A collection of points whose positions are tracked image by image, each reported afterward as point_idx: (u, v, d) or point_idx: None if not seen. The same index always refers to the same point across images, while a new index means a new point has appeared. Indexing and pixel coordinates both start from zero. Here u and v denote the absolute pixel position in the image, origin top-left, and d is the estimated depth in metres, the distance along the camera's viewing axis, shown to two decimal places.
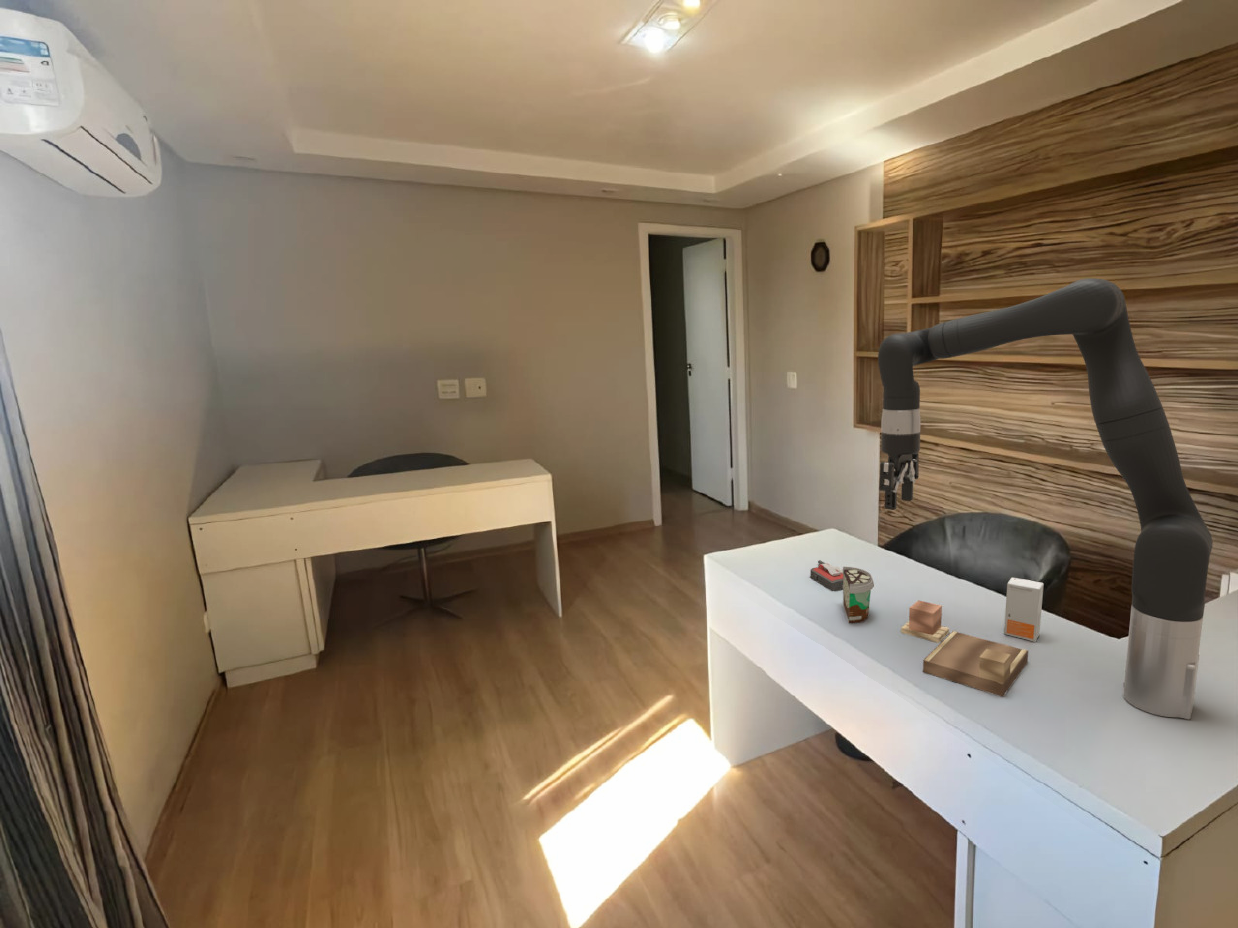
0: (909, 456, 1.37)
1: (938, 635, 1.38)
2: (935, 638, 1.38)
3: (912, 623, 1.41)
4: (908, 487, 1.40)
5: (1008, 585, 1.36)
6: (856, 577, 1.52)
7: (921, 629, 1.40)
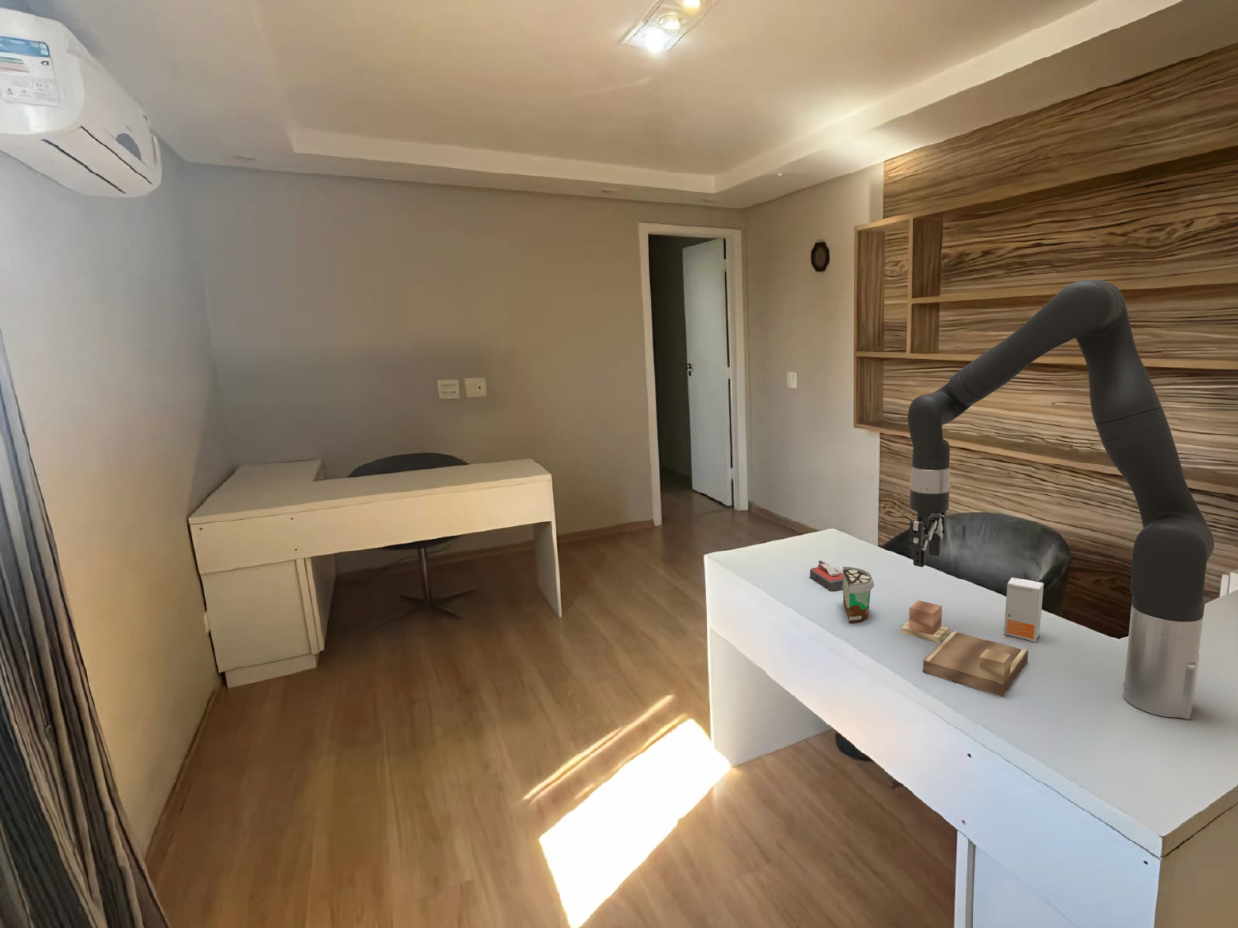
0: (937, 513, 1.38)
1: (938, 635, 1.38)
2: (935, 638, 1.38)
3: (912, 623, 1.41)
4: (936, 542, 1.41)
5: (1008, 585, 1.36)
6: (856, 577, 1.52)
7: (921, 629, 1.40)
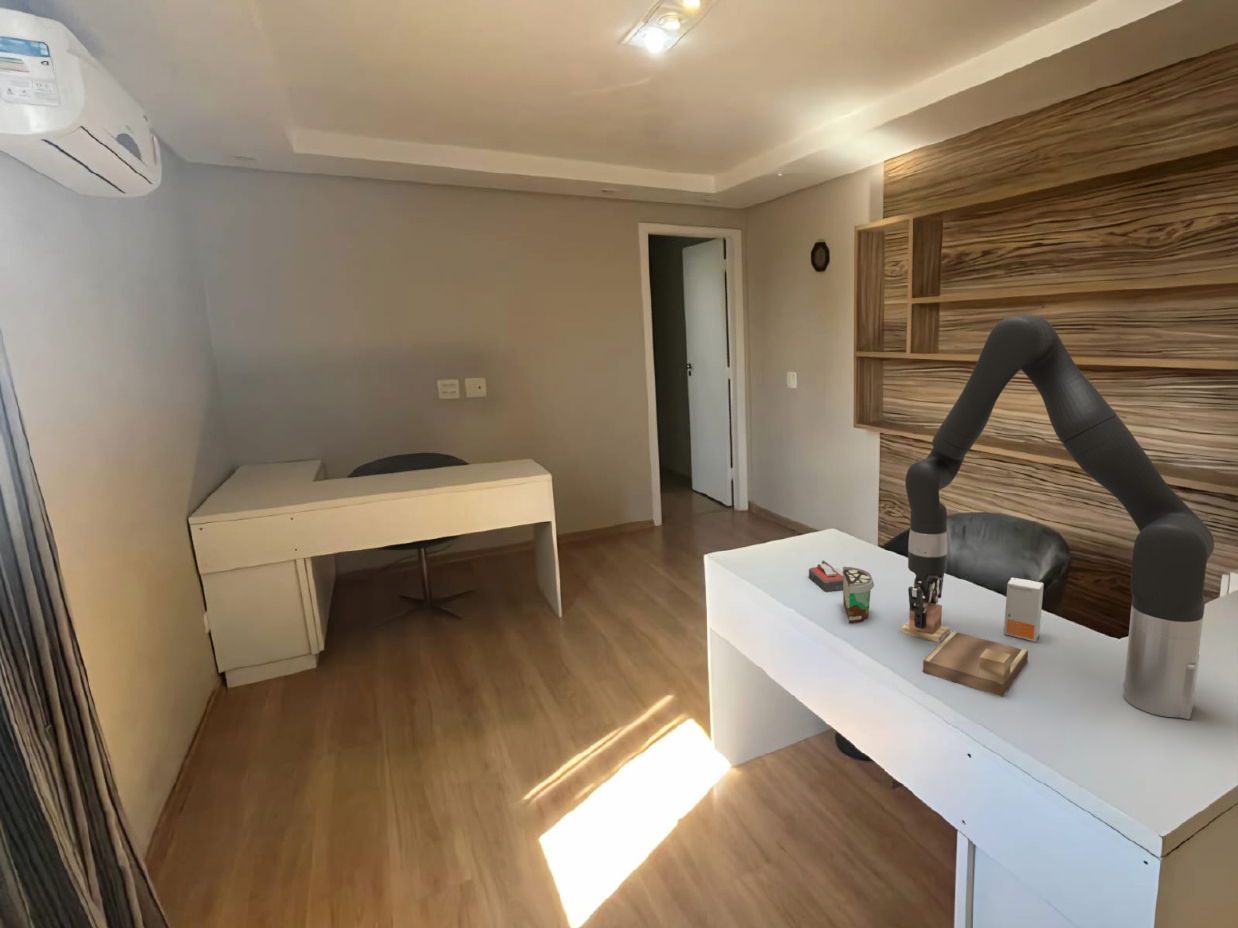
0: None
1: (938, 635, 1.38)
2: (935, 638, 1.38)
3: (912, 623, 1.41)
4: None
5: (1008, 585, 1.36)
6: (856, 577, 1.52)
7: (921, 629, 1.40)
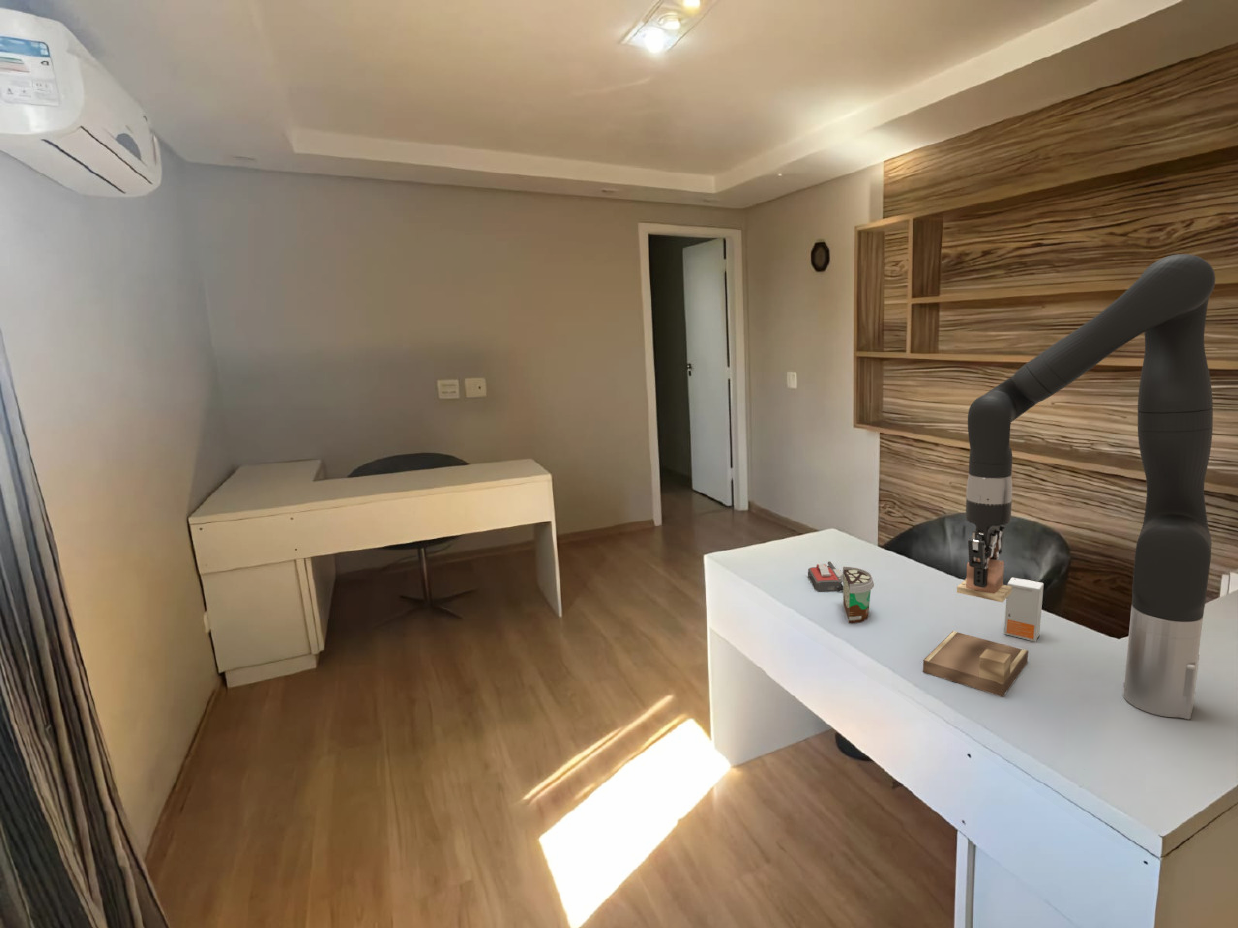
0: None
1: (1000, 594, 1.22)
2: (997, 597, 1.22)
3: (970, 581, 1.25)
4: None
5: (1008, 585, 1.36)
6: (856, 577, 1.52)
7: (981, 587, 1.24)
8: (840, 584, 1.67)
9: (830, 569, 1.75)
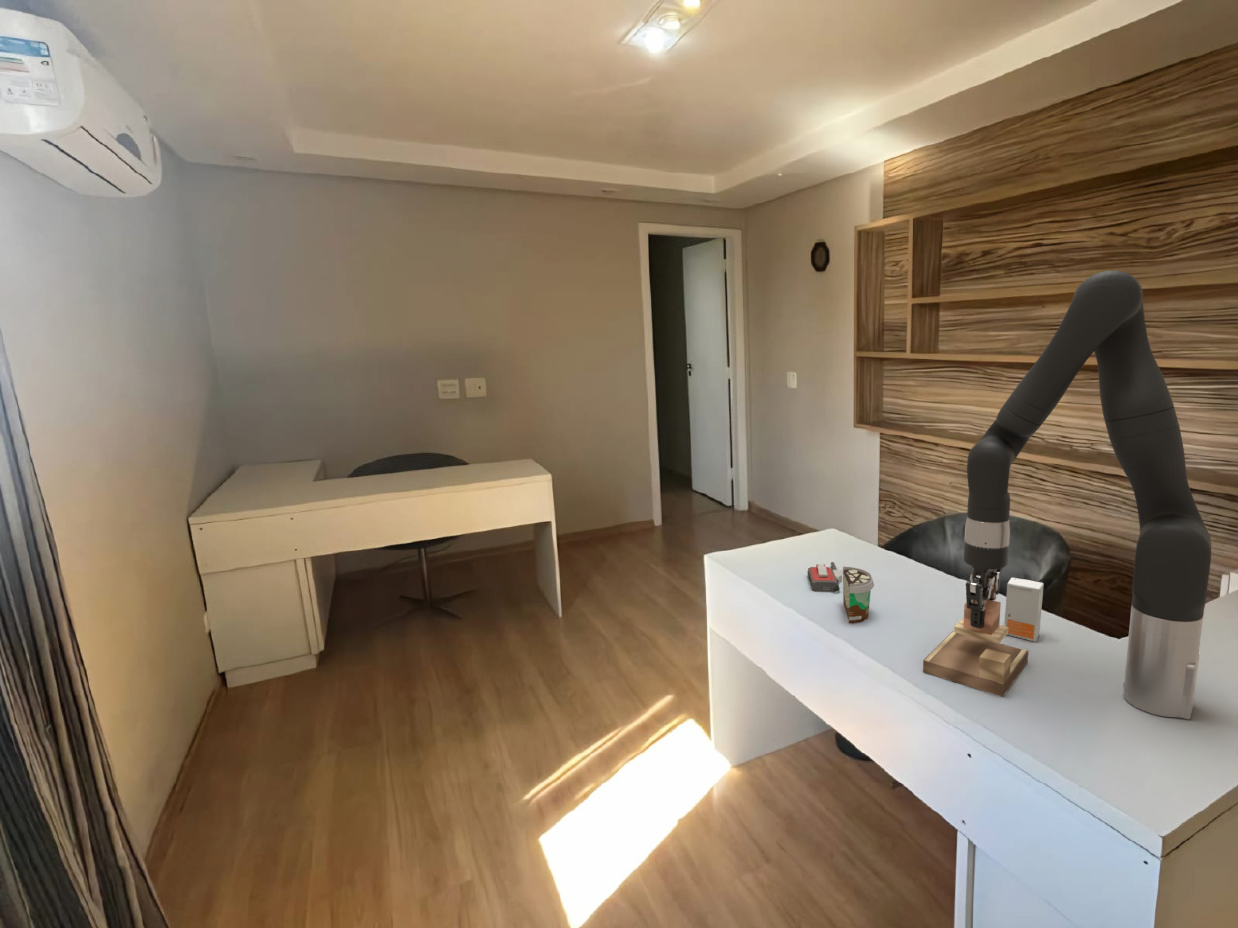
0: None
1: (997, 635, 1.24)
2: (994, 638, 1.23)
3: (967, 621, 1.27)
4: None
5: (1008, 585, 1.36)
6: (856, 577, 1.52)
7: (978, 628, 1.26)
8: (836, 585, 1.67)
9: (830, 569, 1.75)
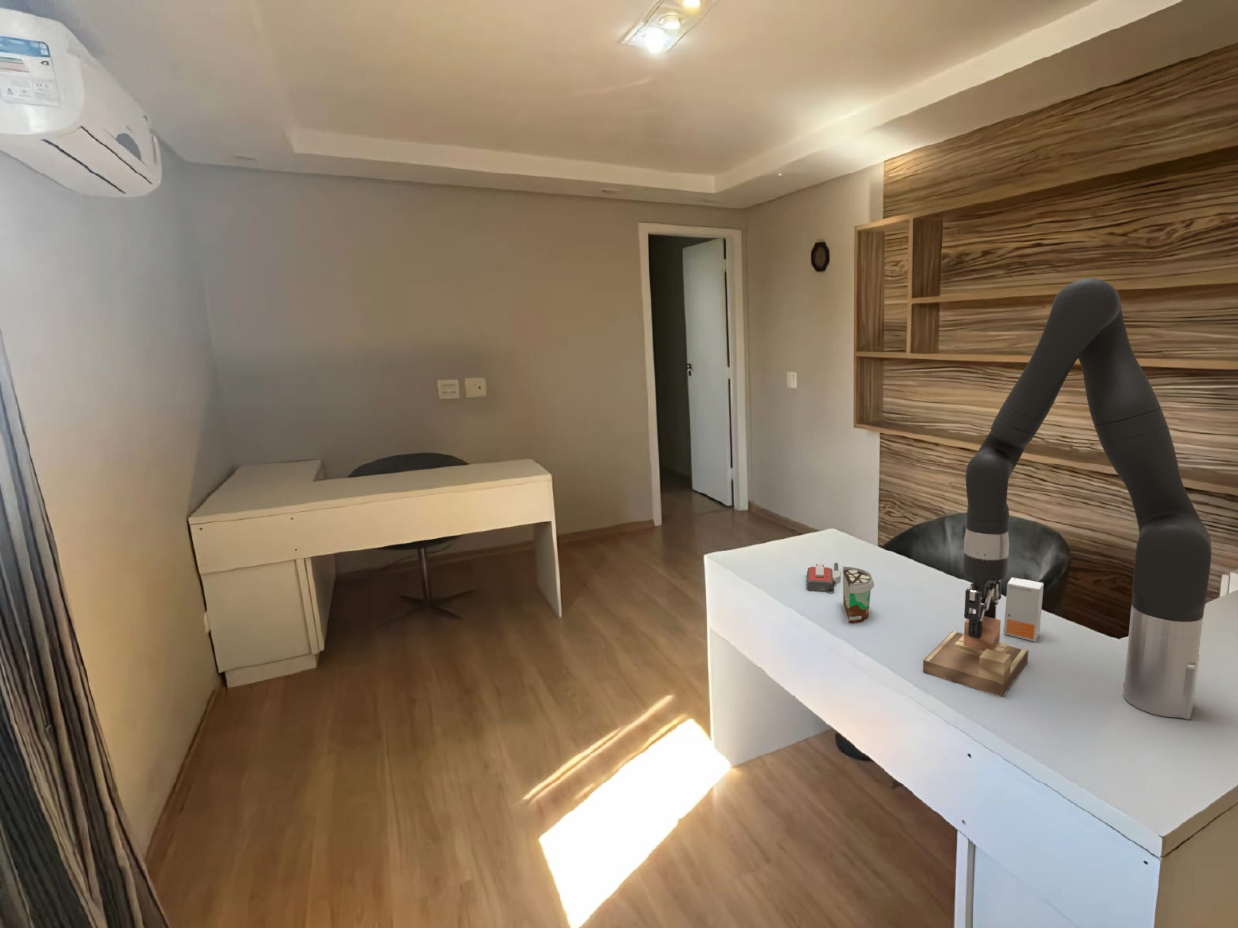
0: None
1: None
2: None
3: (967, 639, 1.27)
4: (991, 609, 1.29)
5: (1008, 585, 1.36)
6: (856, 577, 1.52)
7: (978, 646, 1.26)
8: (831, 585, 1.67)
9: (829, 570, 1.75)
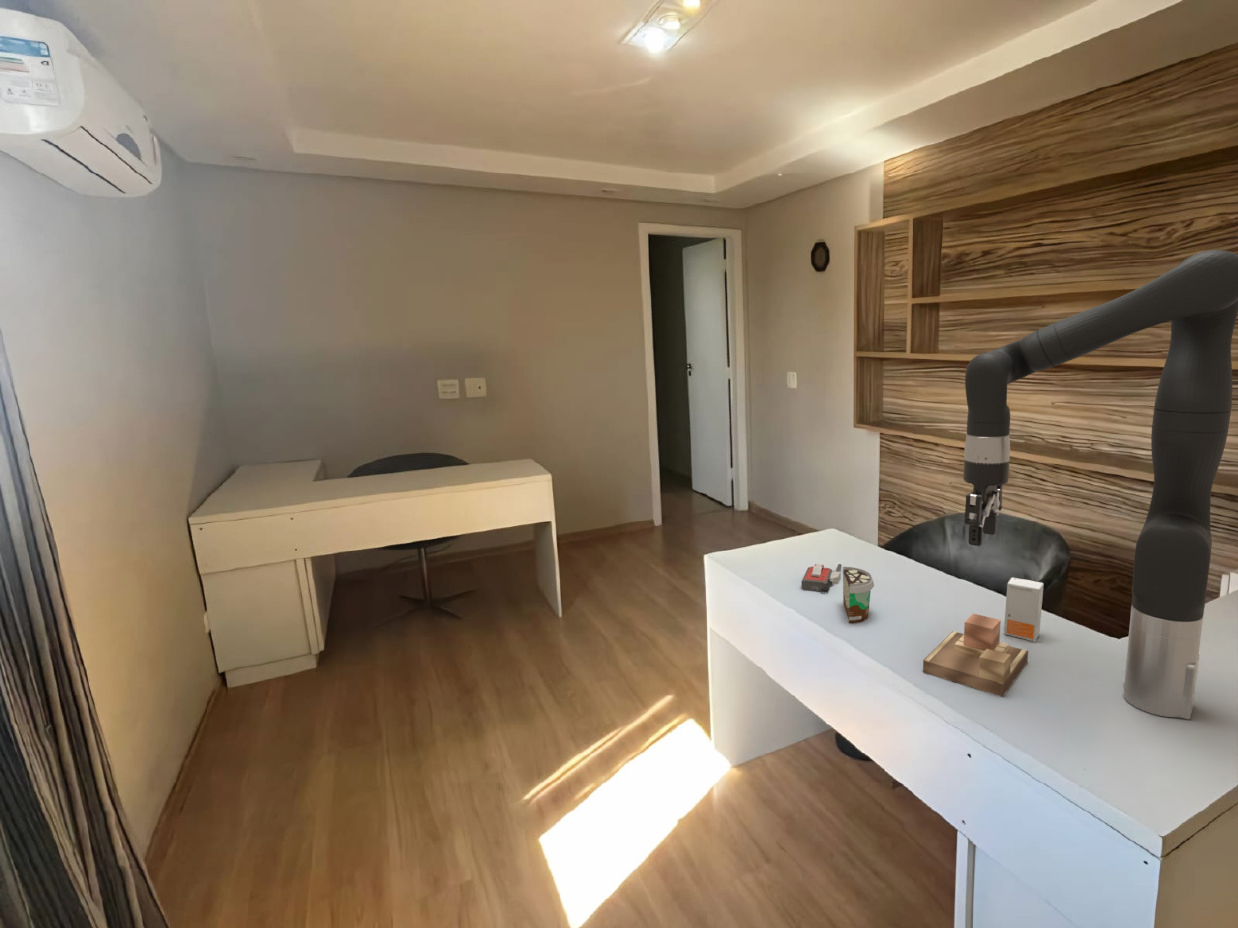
0: (994, 486, 1.24)
1: None
2: None
3: (967, 639, 1.27)
4: (991, 520, 1.27)
5: (1008, 585, 1.36)
6: (856, 577, 1.52)
7: (978, 646, 1.26)
8: (825, 585, 1.67)
9: (828, 570, 1.74)
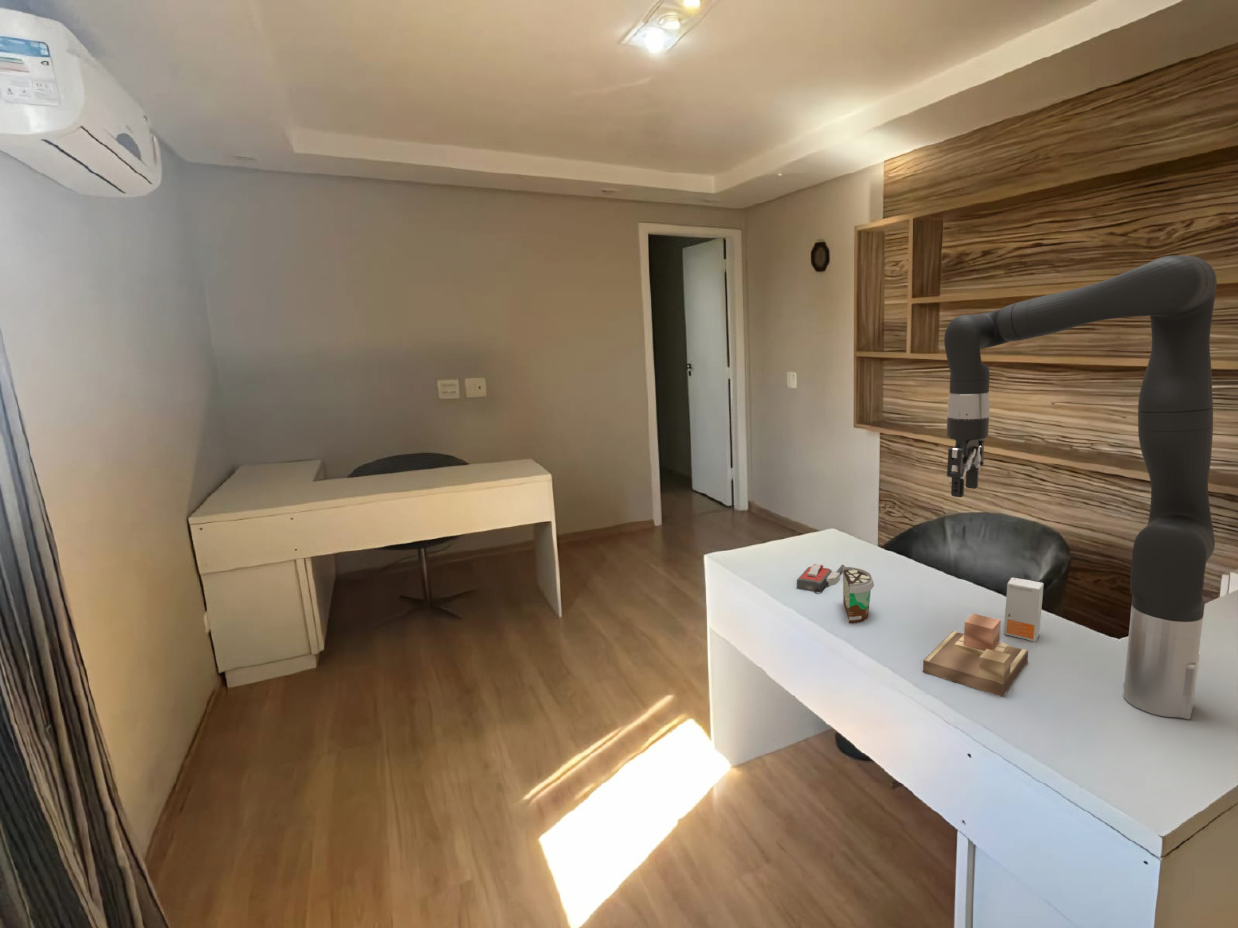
0: (976, 442, 1.32)
1: None
2: None
3: (967, 639, 1.27)
4: (974, 474, 1.35)
5: (1008, 585, 1.36)
6: (856, 577, 1.52)
7: (978, 646, 1.26)
8: (819, 585, 1.67)
9: (826, 571, 1.74)
